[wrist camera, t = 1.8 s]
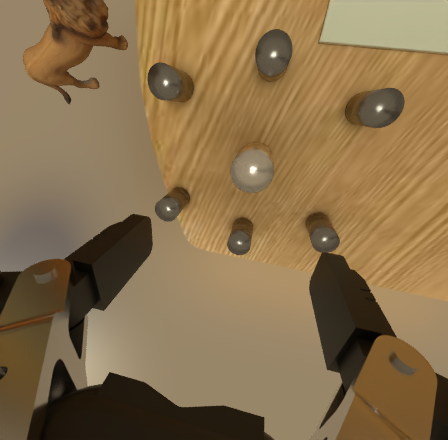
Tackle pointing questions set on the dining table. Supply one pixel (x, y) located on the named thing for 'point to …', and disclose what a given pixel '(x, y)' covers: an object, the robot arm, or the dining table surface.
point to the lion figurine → (69, 42)
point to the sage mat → (388, 24)
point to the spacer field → (272, 70)
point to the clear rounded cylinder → (253, 168)
